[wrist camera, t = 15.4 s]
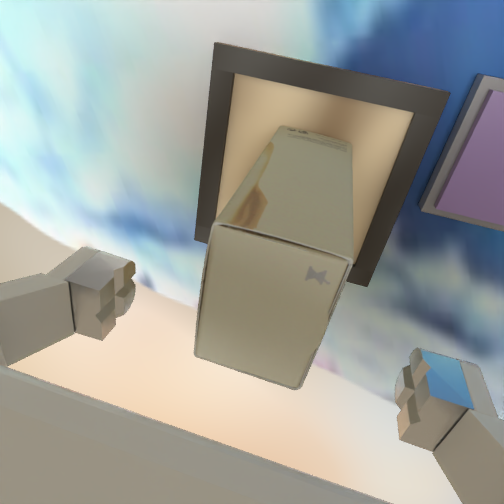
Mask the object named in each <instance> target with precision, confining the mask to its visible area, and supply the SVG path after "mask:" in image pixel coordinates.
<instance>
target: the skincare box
mask: <svg viewBox="0 0 504 504" xmlns="http://www.w3.org/2000/svg"><path fill="white" fill-rule="evenodd" d="M352 174H353V170H352V144H351V143H348V142H345V141H342V140H338V139H335V138H331V137H328V136H324V135H320V134H317V133H313V132H309V131H305V130H301V129H296V128H292V127H287V126H280V127H279V128H278V130H277V131H276V133H275V134H274V136H273V137H272V139H271V140H270V142H269V143H268V145H267V146H266V148H265V149H264V150H263V152H262V153H261V155H260V156H259V158H258V159H257V161H256V162H255V164H254V165H253V167H252V168H251V169H250V171H249V172H248V174H247V175H246V177H245V178H244V180H243V181H242V183H241V184H240V186H239V187H238V189H237V190H236V191H235V193H234V194H233V196H232V197H231V199H230V200H229V201H228V203H227V204H226V206H225V207H224V209H223V210H222V212H221V213H220V214H219V216H218V217H217V218H216V220H215V221H214V223H213V224H212V227H211V232H210V236H209V241H208V246H207V251H206V256H205V261H204V268H203V274H202V281H201V289H200V297H199V304H198V313H197V322H196V335H195V345H194V355H195V357H198V358H200V359H204V360H207V361H210V362H213V363H216V364H219V365H221V366H224V367H227V368H230V369H234V370H236V371H238V372H242V373H245V374H248V375H251V376H254V377H257V378H259V379H263V380H265V381H268V382H272V383H275V384H278V385H281V386H284V387H287V388H289V389H292V390H298V389H300V388H301V387H302V385H303V383H304V380H305V378H306V376H307V374H308V371H309V369H310V367H311V364H312V362H313V360H314V357H315V355H316V352H317V350H318V348H319V346H320V343H321V341H322V339H323V336H324V334H325V331H326V329H327V326H328V324H329V321H330V319H331V316H332V314H333V311H334V309H335V307H336V304H337V302H338V299H339V297H340V294H341V292H342V290H343V287H344V285H345V282H346V279H347V277H348V274H349V272H350V270H351V268H352V265H353V261H354V256H353V253H354V239H353V175H352Z"/></svg>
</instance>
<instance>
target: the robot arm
mask: <svg viewBox="0 0 504 504" xmlns="http://www.w3.org/2000/svg"><path fill="white" fill-rule="evenodd" d="M135 273H136V272H135V263H134V262H133V261H131V260H128V259H125V258H122V257H119V256H116V255H113V254H110V253H107V252H103V251H100V250H97V249H93V248H90V247H82V248H80V249H79V250H78V251H76V252H75V253H74V254H72V255H71V256H70V257H68V258H67V259H66V260H65V261H63V262H62V263H61V264H59V265H58V266H57V267H56V268H54V269H53V270H51V271H50V272H49V273H47V274H46V275H45V274H42V273H40V274H36V275H32V276H28V277H24V278H20V279H16V280H12V281H8V282H4V283H0V504H392V503H390V502H387V501H384V500H381V499H378V498H375V497H372V496H370V495H367V494H364V493H361V492H358V491H356V490H353V489H350V488H347V487H344V486H341V485H339V484H336V483H333V482H330V481H327V480H324V479H321V478H318V477H316V476H313V475H310V474H307V473H304V472H302V471H298V470H296V469H293V468H290V467H287V466H284V465H282V464H279V463H276V462H273V461H270V460H268V459H265V458H262V457H259V456H256V455H253V454H251V453H248V452H245V451H242V450H239V449H237V448H234V447H231V446H228V445H225V444H222V443H219V442H217V441H214V440H211V439H208V438H205V437H203V436H200V435H197V434H194V433H191V432H188V431H186V430H183V429H180V428H177V427H175V426H172V425H169V424H166V423H163V422H160V421H158V420H155V419H152V418H149V417H146V416H143V415H140V414H138V413H135V412H132V411H129V410H127V409H124V408H121V407H118V406H115V405H112V404H109V403H107V402H104V401H101V400H98V399H95V398H92V397H90V396H87V395H84V394H81V393H78V392H76V391H73V390H70V389H67V388H64V387H61V386H58V385H56V384H53V383H50V382H47V381H44V380H42V379H39V378H36V377H33V376H30V375H28V374H25V373H22V372H19V371H16V370H13V369H10V368H8V367H7V366H9V365H11V364H13V363H16V362H18V361H20V360H22V359H24V358H26V357H28V356H30V355H32V354H34V353H36V352H38V351H40V350H42V349H44V348H46V347H48V346H50V345H52V344H54V343H57V342H58V341H61V340H63V339H65V338H67V337H69V336H71V335H73V334H74V332H75V333H78V334H82V335H85V336H88V337H92V338H95V339H99V340H102V341H103V339H104V338H105V337H106V336H107V335H108V333H109V332H110V331H111V330H112V329H113V328H114V326H115V325H116V318H117V317H120V316H122V315H124V314H125V313H126V312H127V310H128V309H129V308H130V306H131V304H132V302H133V300H134V296H135V284H134V282H133V280H132V279H131V278H132V276H133V275H134V274H135ZM409 359H410V365H409V366H407V367H404V368H402V370H401V372H400V374H399V376H398V378H397V382H396V385H395V402H396V404H397V405H398V406H399V408H400V409H401V411H400V413H399V414H398V416H397V421H398V431H399V439H400V440H401V441H404V442H407V443H410V444H412V445H415V446H418V447H421V448H423V449H427V450H429V451H432V452H433V455H434V457H435V459H436V460H437V462H438V464H439V465H440V467H441V469H442V470H443V472H444V474H445V475H446V477H447V479H448V480H449V482H450V483H451V485H452V487H453V488H454V490H455V492H456V493H457V495H458V497H459V498H460V500H461V502H462V503H463V504H504V420H502V419H499V418H498V416H497V413H496V410H495V408H494V405H493V402H492V399H491V397H490V394H489V391H488V389H487V386H486V383H485V381H484V378H483V375H482V373H481V370H480V368H479V367H478V366H477V365H476V364H474V363H470V362H466V361H463V360H459V359H454V358H451V357H447V356H444V355H441V354H437V353H434V352H431V351H427V350H424V349H421V348H416V349H415V350H413V352H412V353H411V355H410V357H409Z"/></svg>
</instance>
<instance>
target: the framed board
mask: <svg viewBox="0 0 504 504" xmlns="http://www.w3.org/2000/svg"><path fill="white" fill-rule="evenodd" d="M449 96H450V92H448V91H444V90H440V89H435V88H430V87H426V86H421V85H416V84H412V83H407V82H402V81H397V80H393V79H388V78H383V77H379V76H374V75H369V74H365V73H360V72H355V71H351V70H346V69H341V68H336V67H332V66H327V65H322V64H318V63H313V62H308V61H304V60H299V59H294V58H290V57H285V56H280V55H275V54H271V53H266V52H261V51H257V50H252V49H247V48H243V47H238V46H233V45H228V44H224V43H219V42H215V43H214V51H213V61H212V70H211V80H210V90H209V100H208V110H207V120H206V129H205V139H204V149H203V159H202V169H201V179H200V188H199V198H198V208H197V218H196V228H195V238H194V240H196V241H200V242H203V243H207V244H208V241H209V236H210V232H211V227H212V224H213V223H214V221H215V220H216V218H217V217H218V216H219V214H220V213H221V212H222V210H223V209H224V207H225V206H226V204H227V203H228V201H229V200H230V199H231V197H232V196H233V194H234V193H235V191H236V190H237V189H238V187H239V186H240V184H241V183H242V181H243V180H244V178H245V177H246V175H247V174H248V172H249V171H250V169H251V168H252V167H253V165H254V164H255V162H256V161H257V159H258V158H259V156H260V155H261V153H262V152H263V150H264V149H265V148H266V146H267V145H268V143H269V142H270V140H271V139H272V137H273V136H274V134H275V133H276V131H277V130H278V128H279V127H280V126H287V127H292V128H296V129H301V130H305V131H309V132H313V133H317V134H320V135H324V136H328V137H331V138H335V139H338V140H342V141H345V142H348V143H351V144H352V170H353V174H352V175H353V239H354V253H353V256H354V261H353V265H352V268H351V270H350V272H349V274H348V277H347V279H346V281H347V282H350V283H354V284H358V285H362V286H365V287H368V284H369V282H370V280H371V277H372V275H373V273H374V270H375V268H376V266H377V263H378V261H379V259H380V256H381V254H382V252H383V249H384V247H385V245H386V242H387V240H388V238H389V235H390V233H391V231H392V228H393V226H394V224H395V221H396V219H397V217H398V214H399V212H400V210H401V207H402V205H403V203H404V200H405V198H406V196H407V193H408V191H409V189H410V186H411V184H412V182H413V179H414V177H415V175H416V172H417V170H418V168H419V165H420V163H421V161H422V158H423V156H424V154H425V151H426V149H427V147H428V144H429V142H430V140H431V138H432V135H433V133H434V131H435V128H436V126H437V124H438V121H439V119H440V117H441V114H442V112H443V110H444V107H445V105H446V103H447V100H448V98H449Z"/></svg>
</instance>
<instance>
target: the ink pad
mask: <svg viewBox="0 0 504 504" xmlns="http://www.w3.org/2000/svg"><path fill="white" fill-rule="evenodd" d="M418 205H419V207H420V210H421V211H422V212H426V213H431V214H435V215H439V216H443V217H447V218H451V219H455V220H459V221H463V222H467V223H471V224H475V225H479V226H483V227H487V228H491V229H495V230H499V231H503V232H504V79H502V78H497V77H492V76H487V75H482V74H477V76H476V79H475V81H474V83H473V85H472V87H471V90H470V92H469V94H468V96H467V98H466V101H465V103H464V105H463V107H462V109H461V112H460V114H459V116H458V118H457V120H456V123H455V125H454V127H453V129H452V131H451V134H450V136H449V138H448V140H447V142H446V145H445V147H444V149H443V151H442V153H441V156H440V158H439V160H438V162H437V164H436V167H435V169H434V171H433V173H432V175H431V178H430V180H429V182H428V184H427V186H426V189H425V191H424V193H423V195H422V197H421V200H420V202H419V204H418Z"/></svg>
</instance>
